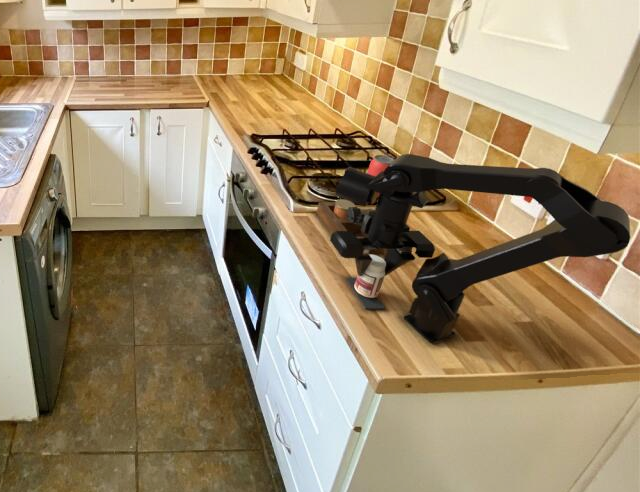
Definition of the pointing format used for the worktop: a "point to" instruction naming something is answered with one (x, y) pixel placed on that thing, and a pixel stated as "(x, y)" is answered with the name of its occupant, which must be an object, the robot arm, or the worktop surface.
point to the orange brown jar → (342, 208)
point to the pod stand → (339, 222)
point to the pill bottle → (371, 278)
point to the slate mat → (366, 298)
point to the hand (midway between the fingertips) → (371, 274)
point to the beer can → (379, 165)
